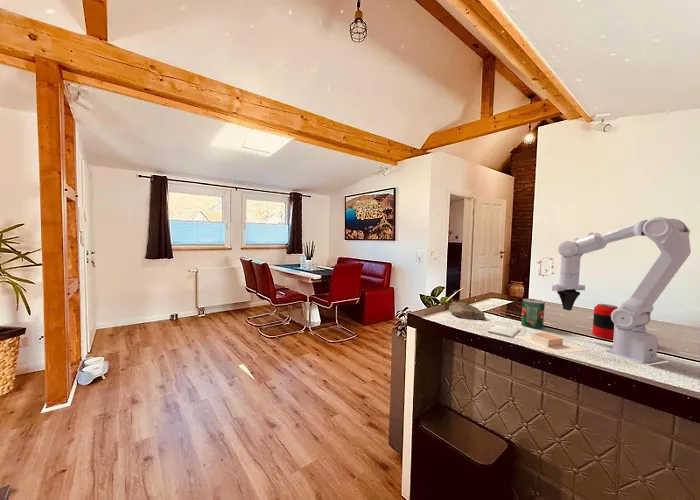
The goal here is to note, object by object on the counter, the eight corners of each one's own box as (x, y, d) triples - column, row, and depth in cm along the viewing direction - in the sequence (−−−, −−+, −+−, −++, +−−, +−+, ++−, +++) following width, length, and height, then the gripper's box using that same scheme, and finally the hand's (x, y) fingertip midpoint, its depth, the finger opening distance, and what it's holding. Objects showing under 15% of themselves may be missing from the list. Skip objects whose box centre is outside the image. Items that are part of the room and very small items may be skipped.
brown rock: (444, 308, 150) (453, 317, 130) (445, 298, 149) (453, 307, 130) (473, 310, 148) (485, 320, 128) (473, 301, 147) (486, 310, 128)
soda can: (588, 334, 112) (590, 304, 111) (597, 332, 115) (600, 302, 115) (613, 341, 105) (615, 308, 105) (622, 338, 109) (624, 307, 108)
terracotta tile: (563, 338, 98) (547, 340, 95) (562, 345, 98) (547, 347, 96) (546, 332, 103) (531, 334, 101) (545, 339, 103) (531, 340, 101)
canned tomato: (547, 330, 115) (548, 303, 115) (526, 328, 117) (527, 302, 116) (537, 324, 123) (539, 299, 123) (517, 323, 124) (519, 298, 124)
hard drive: (511, 336, 104) (519, 328, 113) (487, 330, 109) (497, 324, 118) (511, 340, 104) (519, 332, 113) (487, 335, 109) (497, 327, 118)
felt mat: (588, 351, 94) (588, 349, 94) (557, 355, 90) (557, 353, 90) (542, 334, 110) (542, 333, 110) (514, 337, 105) (514, 336, 105)
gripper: (572, 272, 113) (570, 306, 113) (544, 272, 108) (542, 307, 109) (592, 274, 106) (589, 310, 107) (563, 274, 102) (561, 312, 102)
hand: (567, 309), depth 107 cm, fingers closed
